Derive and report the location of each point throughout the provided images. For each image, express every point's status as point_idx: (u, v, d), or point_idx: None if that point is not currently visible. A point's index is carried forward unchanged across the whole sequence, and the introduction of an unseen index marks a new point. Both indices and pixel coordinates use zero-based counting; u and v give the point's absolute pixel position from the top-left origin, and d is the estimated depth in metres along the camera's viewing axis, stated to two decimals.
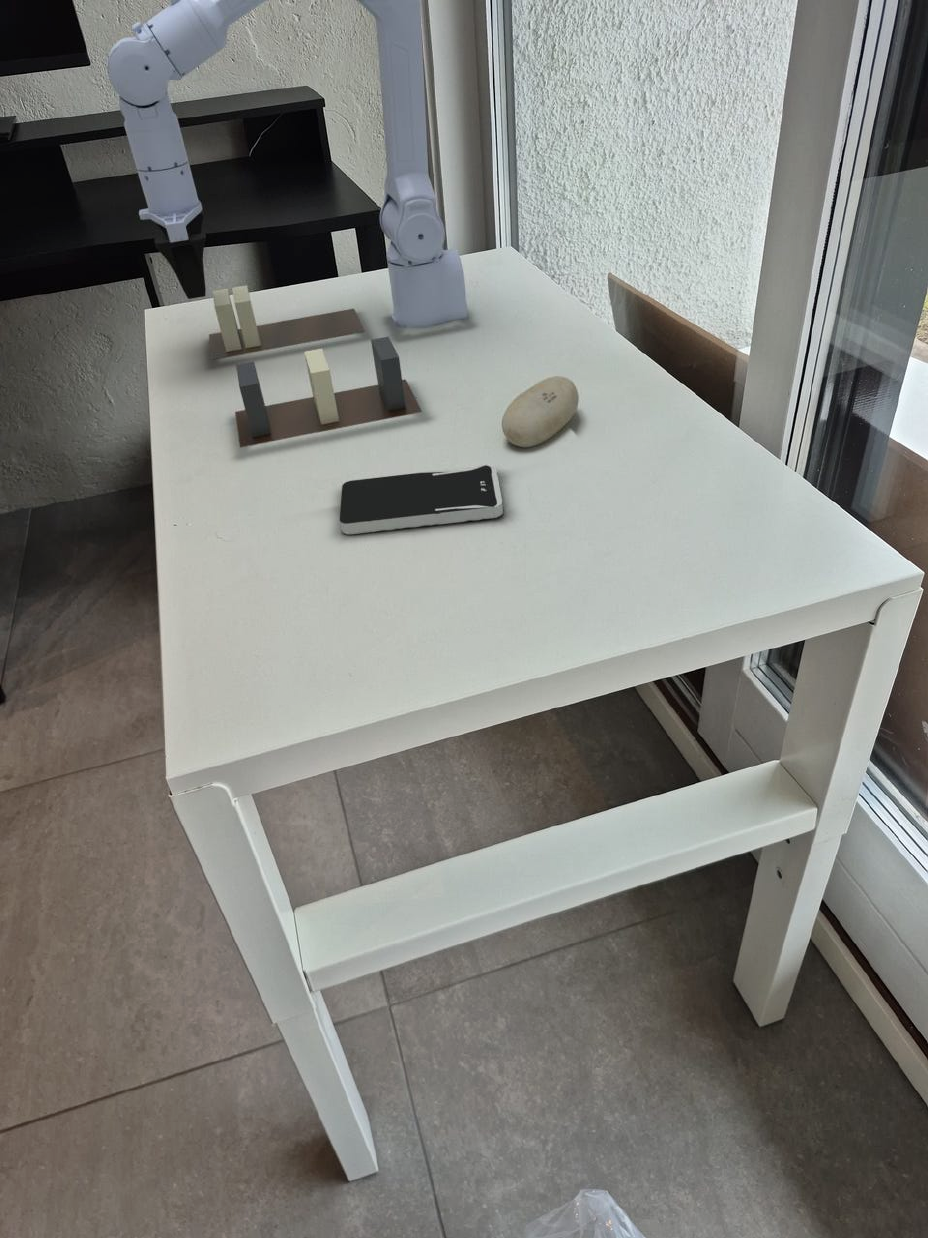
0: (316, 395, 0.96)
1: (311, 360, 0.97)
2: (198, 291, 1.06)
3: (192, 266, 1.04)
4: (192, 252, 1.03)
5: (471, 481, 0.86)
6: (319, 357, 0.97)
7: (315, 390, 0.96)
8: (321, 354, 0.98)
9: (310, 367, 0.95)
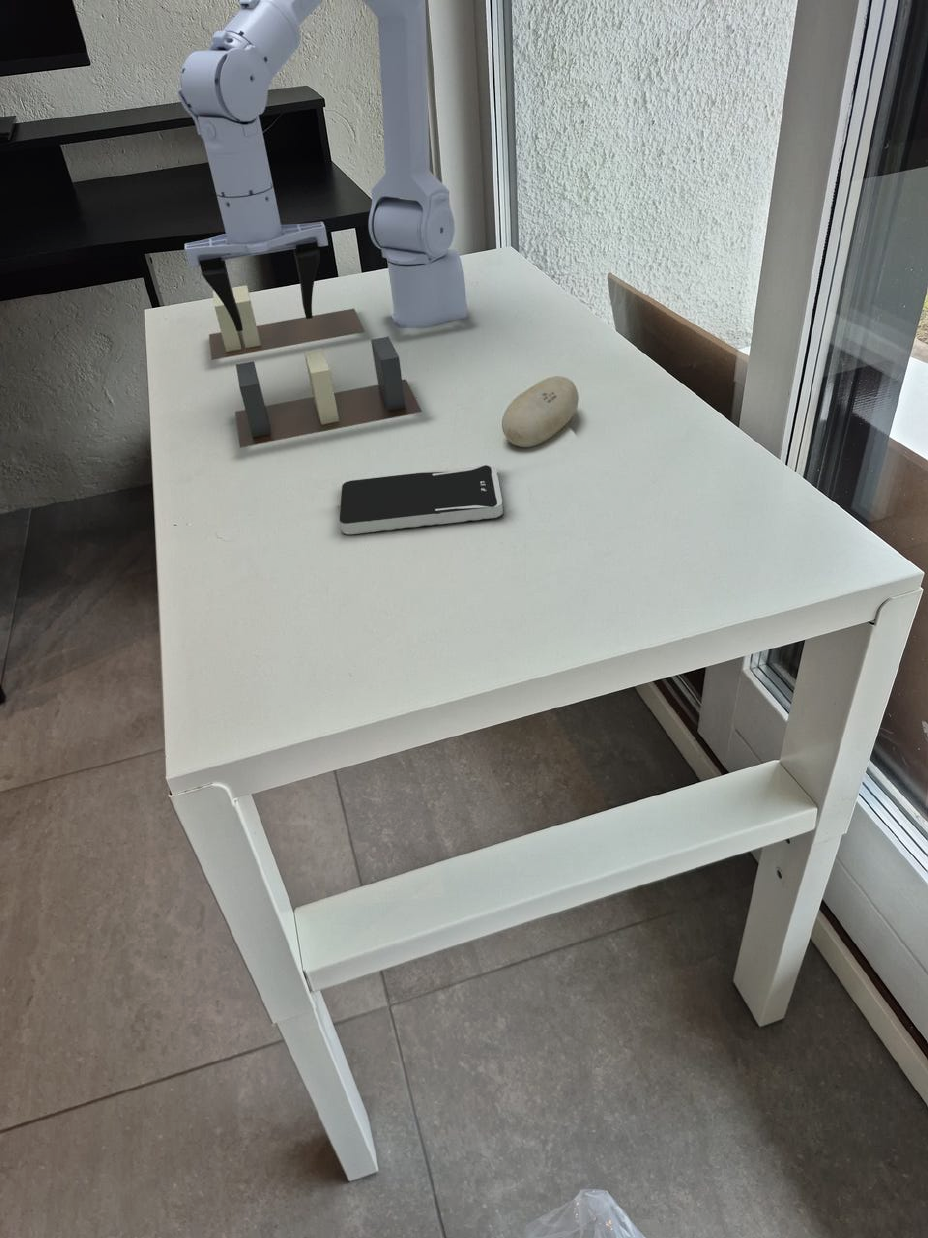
0: (316, 395, 0.96)
1: (311, 360, 0.97)
2: None
3: None
4: None
5: (471, 481, 0.86)
6: (319, 357, 0.97)
7: (315, 390, 0.96)
8: (321, 354, 0.98)
9: (310, 367, 0.95)
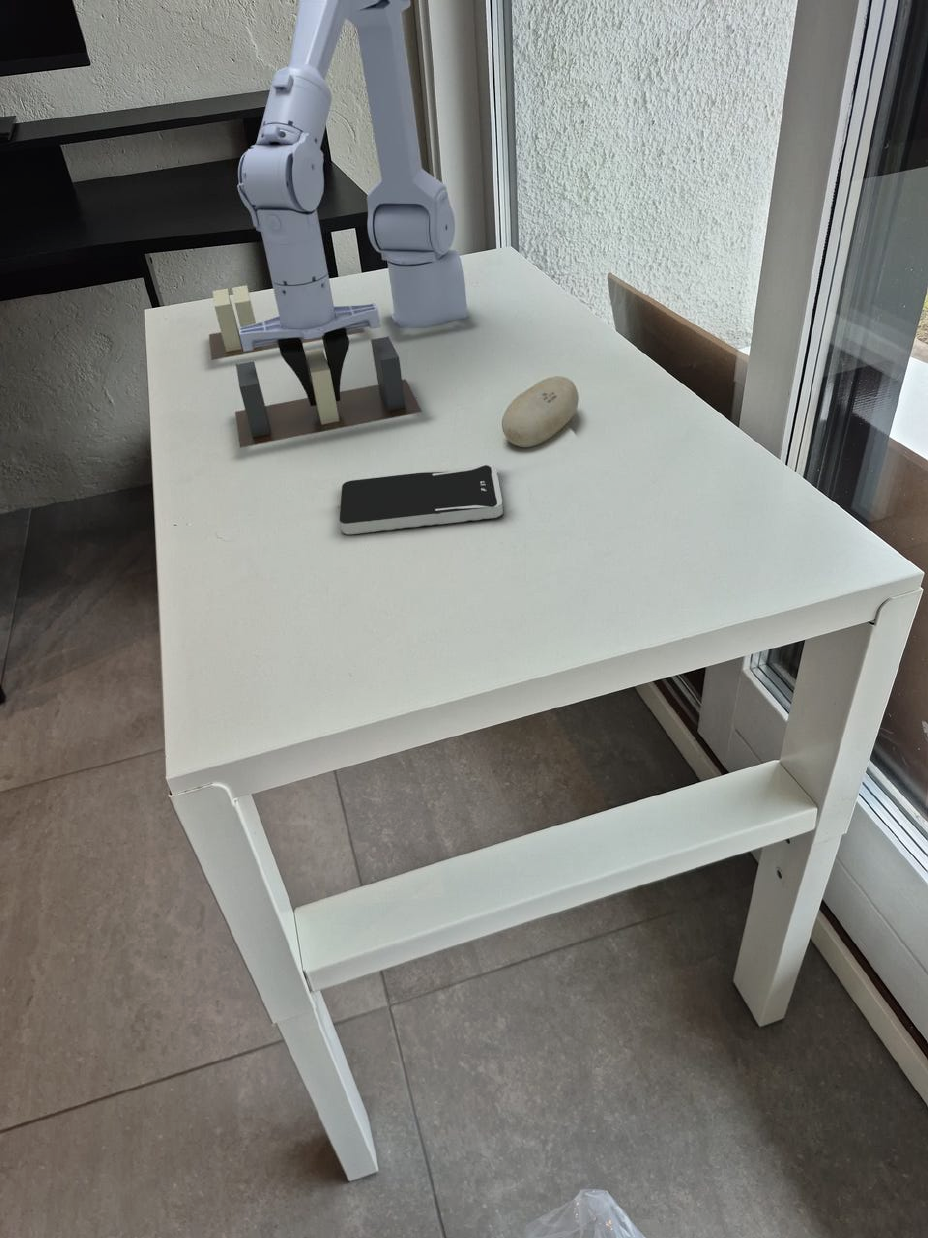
0: (316, 395, 0.96)
1: (312, 360, 0.97)
2: None
3: None
4: None
5: (471, 481, 0.86)
6: (319, 357, 0.97)
7: (315, 390, 0.96)
8: (322, 354, 0.98)
9: (310, 367, 0.95)
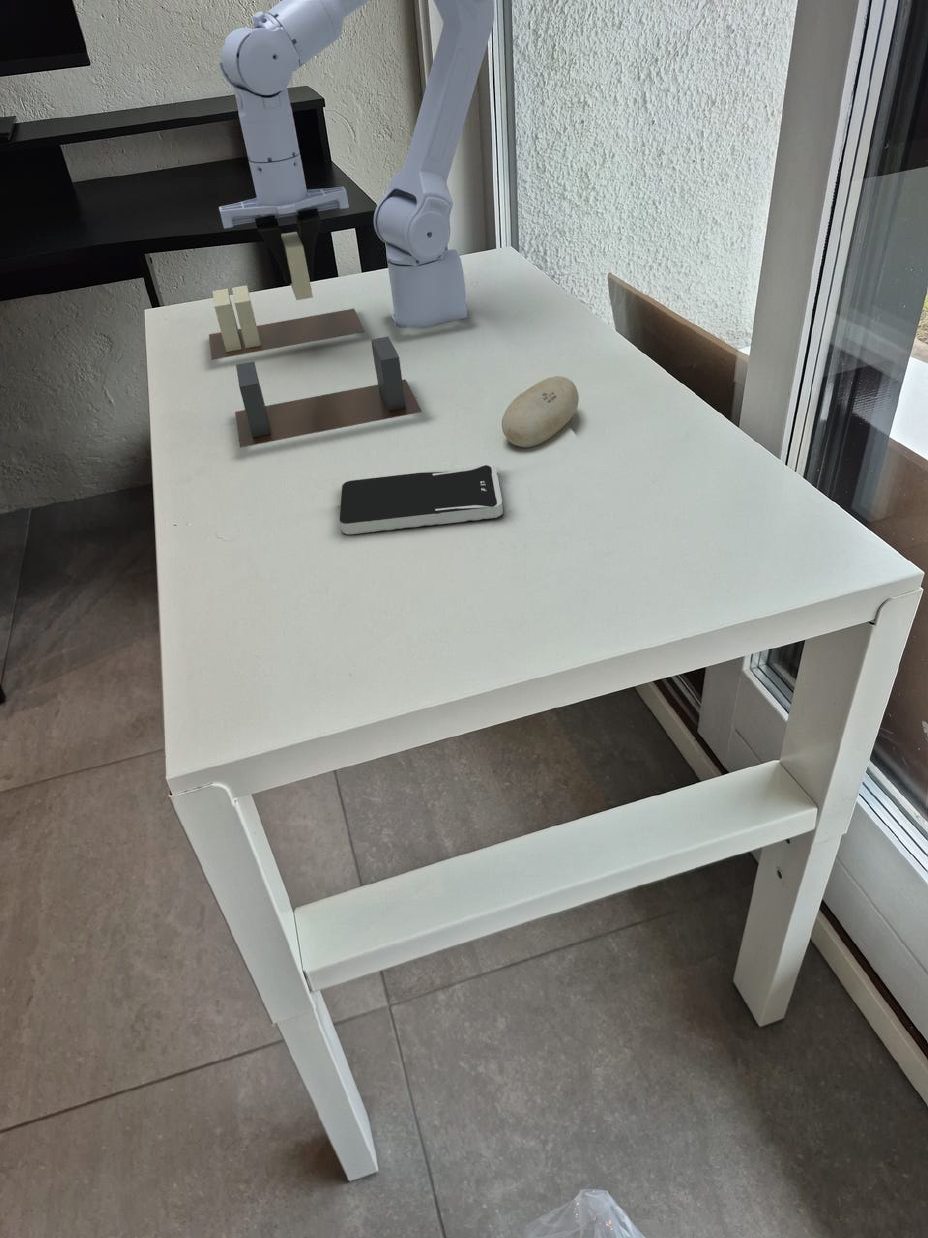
0: (291, 270, 1.05)
1: (287, 239, 1.06)
2: None
3: None
4: None
5: (471, 481, 0.86)
6: (293, 237, 1.06)
7: (290, 265, 1.05)
8: (296, 235, 1.07)
9: (285, 244, 1.05)
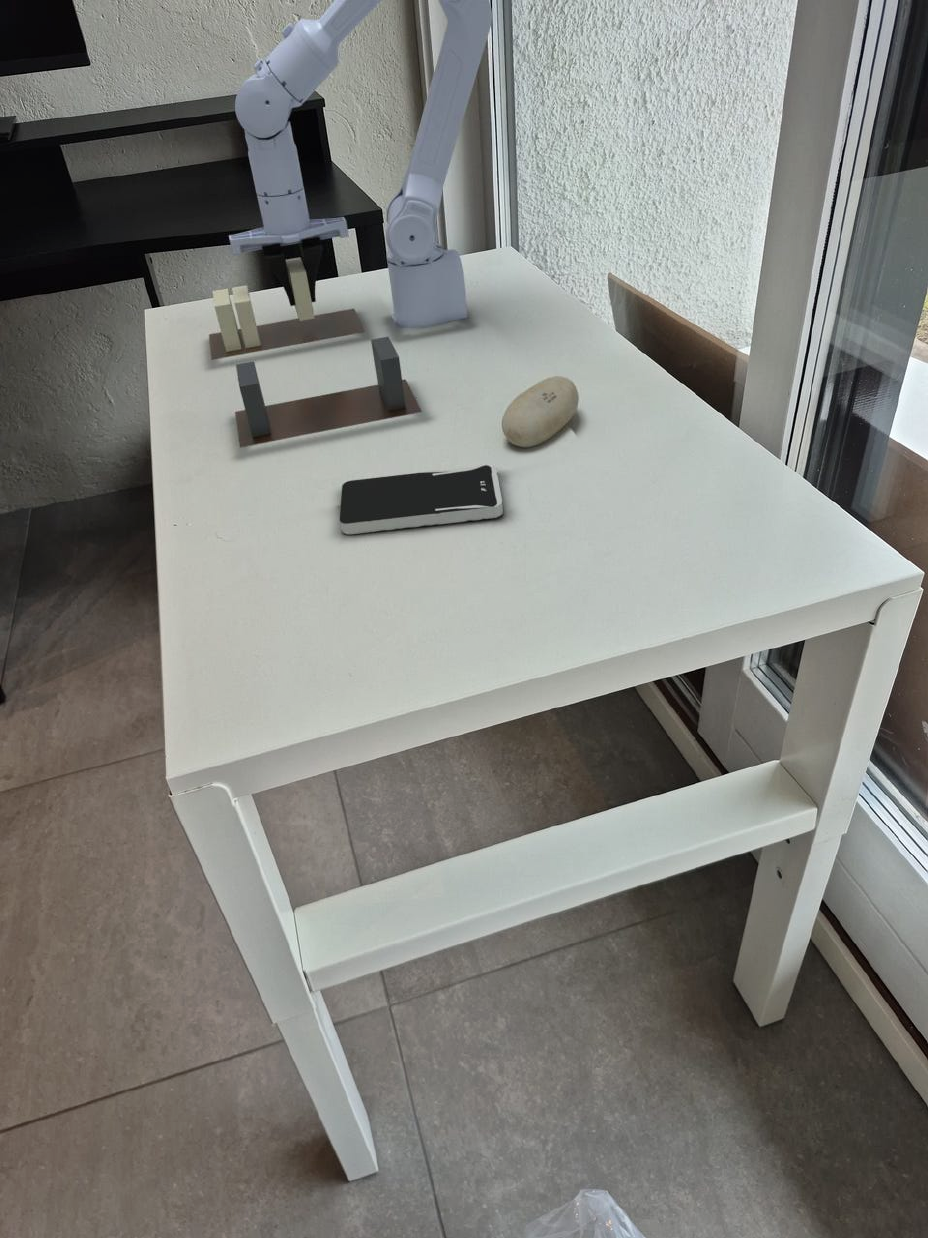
0: (295, 294, 1.14)
1: (291, 265, 1.15)
2: None
3: None
4: None
5: (471, 481, 0.86)
6: (297, 263, 1.15)
7: (294, 289, 1.14)
8: (300, 261, 1.16)
9: (290, 270, 1.14)
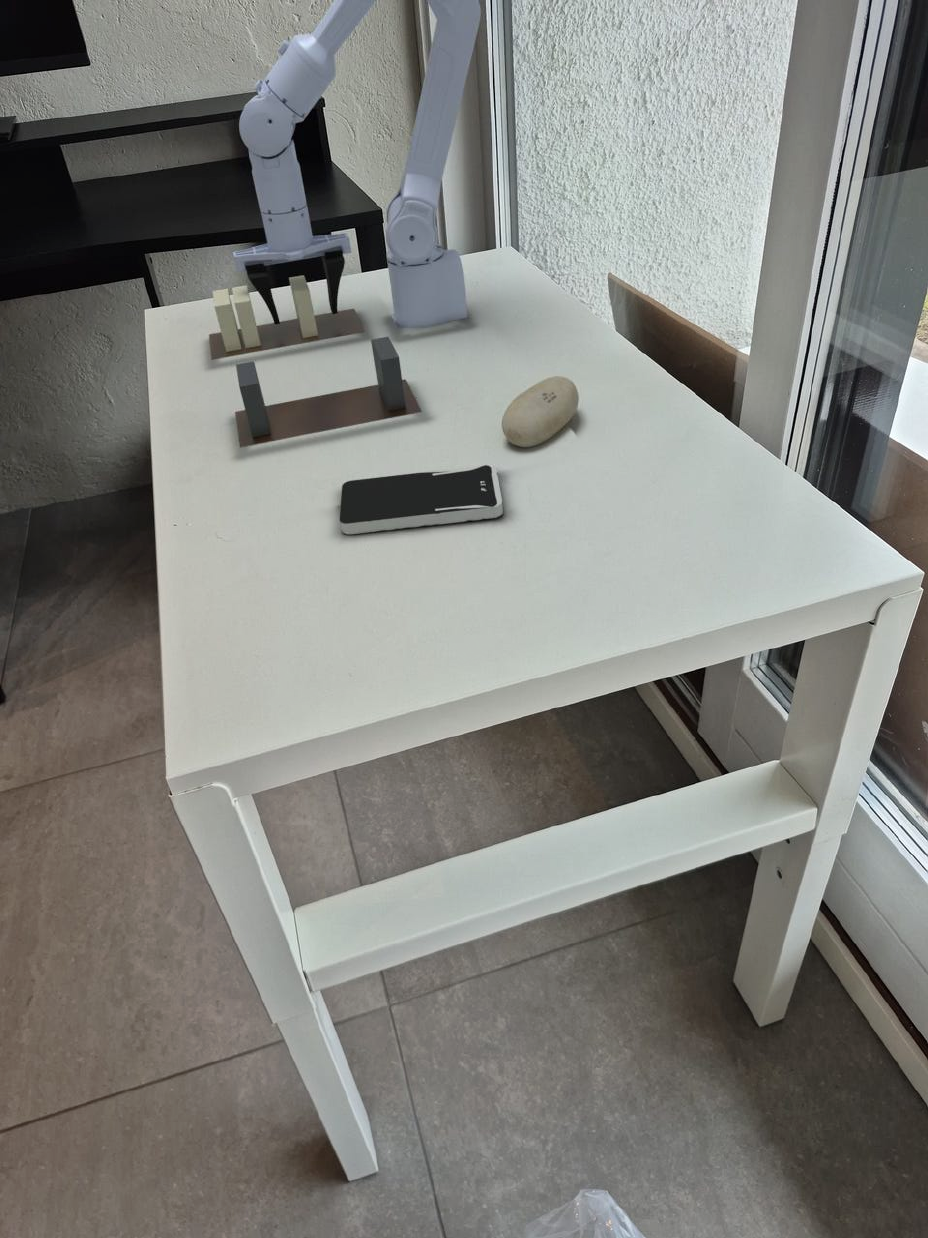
0: (298, 312, 1.16)
1: (295, 283, 1.16)
2: None
3: None
4: None
5: (471, 481, 0.86)
6: (301, 281, 1.17)
7: (297, 307, 1.15)
8: (303, 279, 1.17)
9: (293, 288, 1.15)
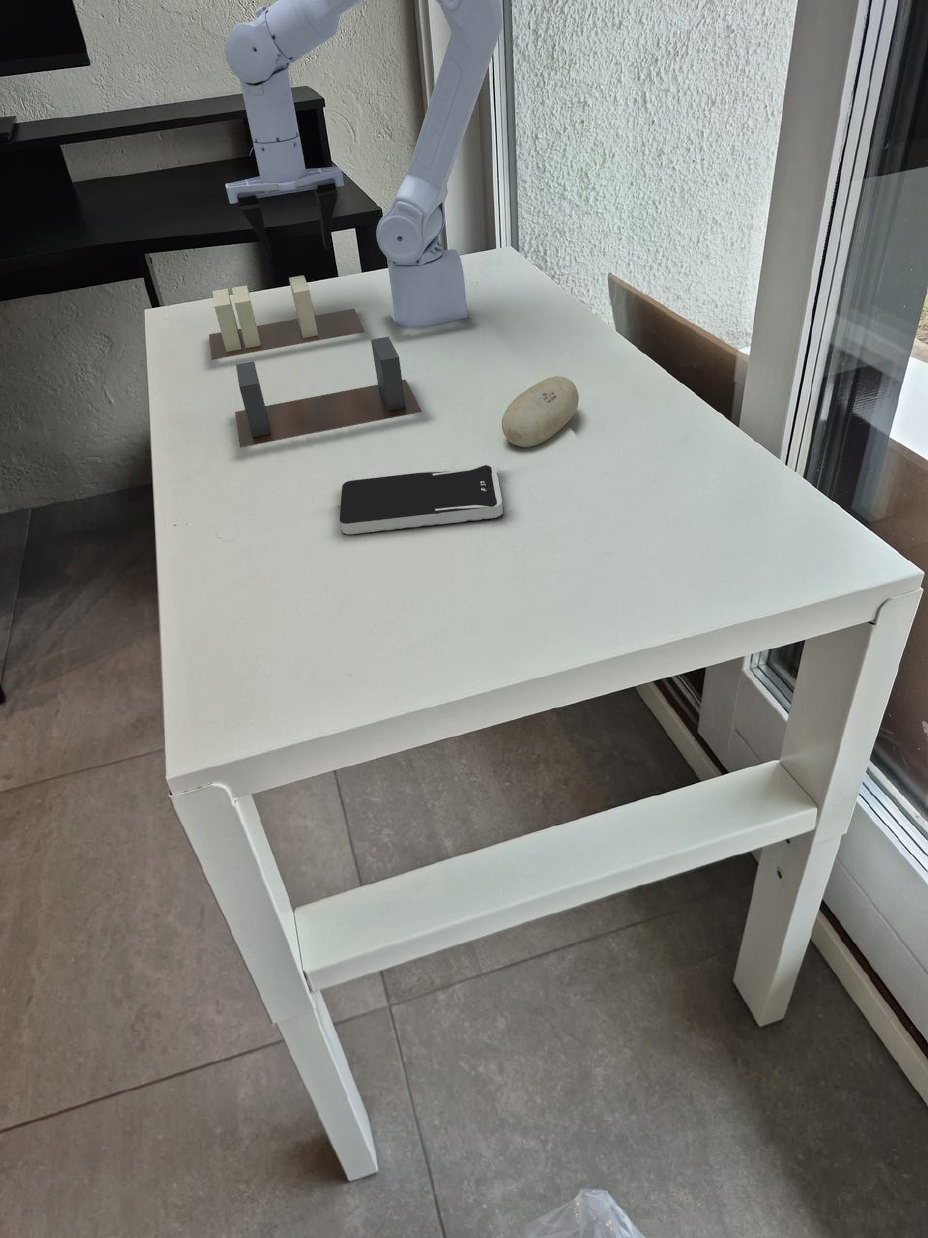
0: (298, 312, 1.16)
1: (295, 283, 1.16)
2: None
3: None
4: None
5: (471, 481, 0.86)
6: (301, 281, 1.17)
7: (297, 307, 1.15)
8: (303, 279, 1.17)
9: (293, 288, 1.15)
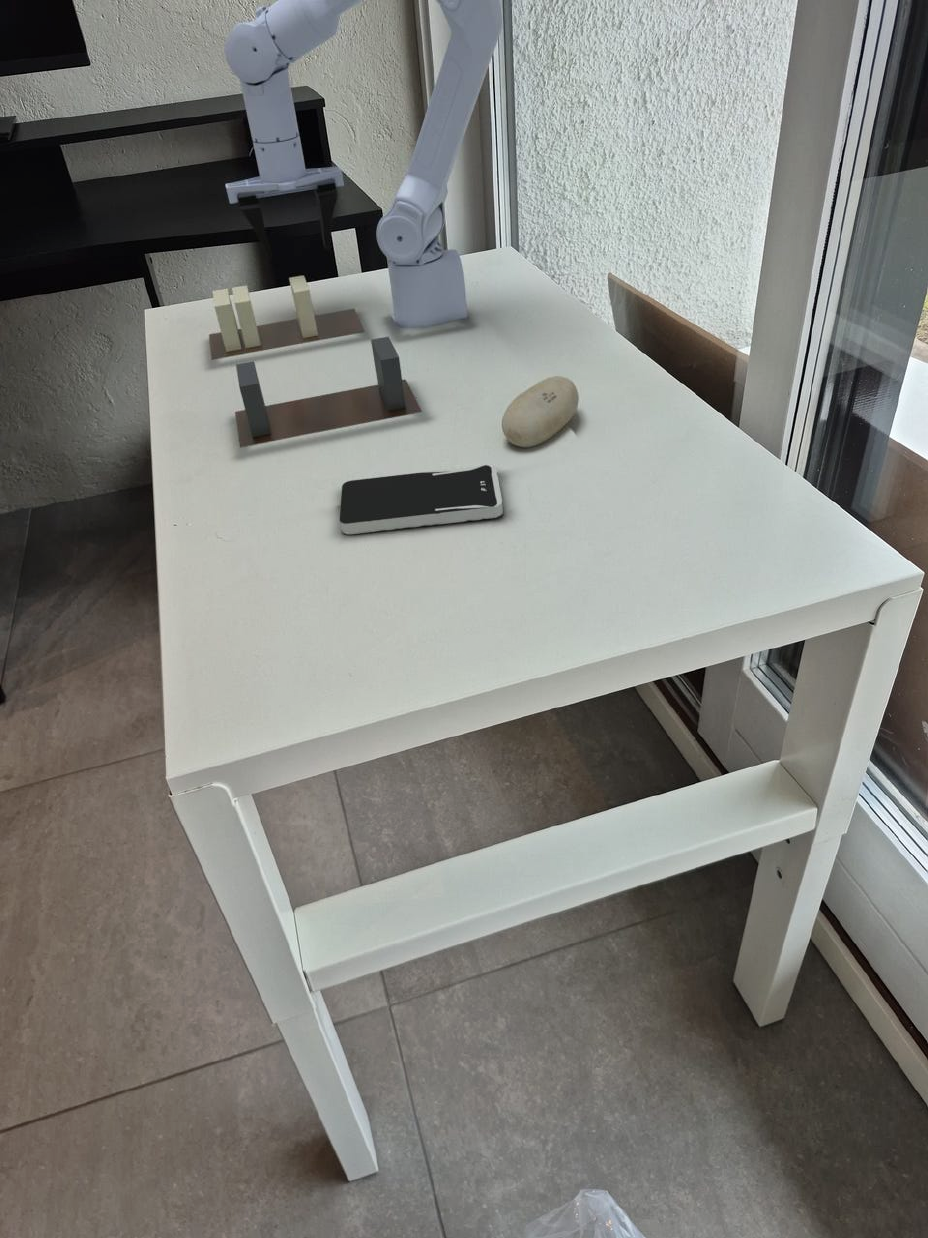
0: (298, 312, 1.16)
1: (295, 283, 1.16)
2: None
3: None
4: None
5: (471, 481, 0.86)
6: (301, 281, 1.17)
7: (297, 307, 1.15)
8: (303, 279, 1.17)
9: (293, 288, 1.15)
